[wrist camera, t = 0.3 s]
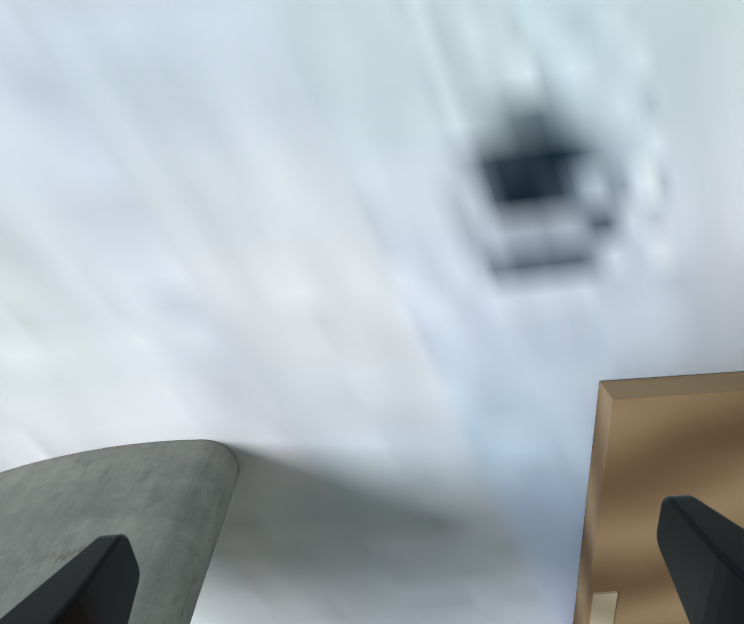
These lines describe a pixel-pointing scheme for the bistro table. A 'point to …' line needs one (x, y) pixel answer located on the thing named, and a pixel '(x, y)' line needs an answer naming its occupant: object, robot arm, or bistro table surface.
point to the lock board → (654, 487)
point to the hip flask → (119, 519)
